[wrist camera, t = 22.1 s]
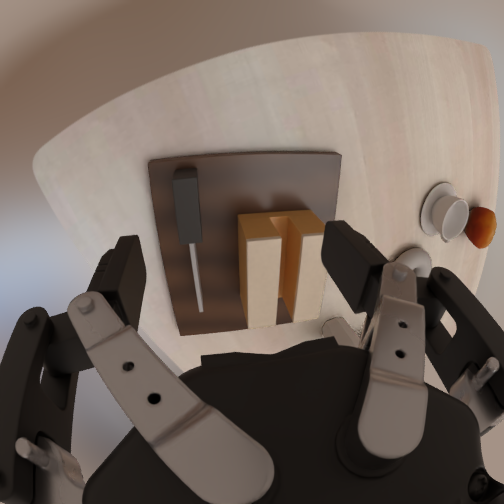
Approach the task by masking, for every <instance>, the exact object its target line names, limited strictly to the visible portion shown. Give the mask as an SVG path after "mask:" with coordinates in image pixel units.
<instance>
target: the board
mask: <svg viewBox="0 0 504 504" xmlns="http://www.w3.org/2000/svg"><path fill="white" fill-rule="evenodd" d="M341 158H342V155H341V154H339V153H336V152H313V151H262V152H235V153H218V154H204V155H192V156H182V157H173V158H164V159H156V160H150V161H149V162H148V169H149V177H150V185H151V193H152V200H153V207H154V213H155V220H156V226H157V231H158V237H159V243H160V248H161V253H162V259H163V264H164V268H165V273H166V278H167V283H168V287H169V292H170V296H171V300H172V304H173V309H174V313H175V317H176V321H177V325H178V328H179V332H180V336H186V335H198V334H208V333H218V332H227V331H235V330H243V329H248V326H247V322H246V318H245V314H244V310H243V305H242V301H241V297H240V278H239V247H238V214H252V213H266V212H281V211H297V210H312V212H313V213H314V214H315V215H316V216H317V217H318V218H319V219H320V220H321V221H322V222H323V223H324V224H325V225H326V222H327V221H334V220H335V212H336V204H337V196H338V188H339V178H340V168H341ZM188 168H197V174H198V188H199V201H200V212H201V223H202V240H203V242H202V243H196V252H197V260H198V267H199V275H200V282H201V289H202V298H203V312H199V306H198V300H197V294H196V288H195V281H194V275H193V268H192V261H191V254H190V246H189V244H184V245H180V243H179V236H178V229H177V221H176V214H175V206H174V197H173V189H172V178H173V175H174V172H175V170H179V169H188ZM291 322H293V321H292V319H291V317H290V314H289V312H288V309H287V307H286V305H285V302H284V300H283V297H279V298H278V303H277V316H276V325H279V324H285V323H291Z"/></svg>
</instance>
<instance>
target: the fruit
mask: <svg viewBox="0 0 504 504" xmlns="http://www.w3.org/2000/svg"><path fill="white" fill-rule="evenodd" d="M496 225H497V224H496V218H495V214H494V212H493V211H491V210H489V209H487V208H483V207H475V208H473V209H472V210H471V211H470V212H469V216H468V220H467V223H466V225H465V227H464V229H463V230H465V233H466V235H467V237H468V238H469V240H470V241H471V242H472V243H473V244H474V245H475V246H476V247H477V248H479V249H480V248H485V247H487V246H488V245H489V244H490V243H491V241H492V239H493V236H494V234H495V230H496Z"/></svg>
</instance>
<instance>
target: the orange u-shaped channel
mask: <svg viewBox="0 0 504 504" xmlns="http://www.w3.org/2000/svg"><path fill="white" fill-rule="evenodd" d="M324 229H325V224H324V223H323V222H322V221H321V220H320V219H319V218H318V217H317V216H316V215H315V214H314V213H313V212H312V210H297V211H281V212H266V213H252V214H238V247H239V278H240V297H241V301H242V305H243V310H244V314H245V318H246V322H247V326H248V329H256V328H263V327H270V326H276V316H277V303H278V298H279V297H283V300H284V302H285V305H286V307H287V309H288V312H289V314H290V317H291V319H292V321H293V323H296V322H301V321H307V320H313V319H318V317H319V312H320V308H321V303H322V298H323V293H324V288H325V282H326V277H327V270H326V269H325V267H324V266H323V264H322V260H321V248H322V242H323V236H324Z"/></svg>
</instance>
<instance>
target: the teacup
mask: <svg viewBox="0 0 504 504" xmlns="http://www.w3.org/2000/svg"><path fill="white" fill-rule="evenodd" d="M468 216H469V207H468V204H467V202H466V201H465V200H463V199H461V198H458V197H457V193H456V190H455V188H454V187H453V186H452V185H451V184H449V183H441V184H439V185H437V186H436V187H435V188H434V189H433V190H432V191H431V192H430V194H429V195H428V197H427V198H426V200H425V203H424V205H423V209H422V213H421V225H422V228H423V231H424V232H425V233H426V234H428V235H430V236H434V235H438V234H440V235H441V238H442V240H443V241H444V242H445V243H448V242H450V240H453V239H455V238H456V237H458V236H459V235H460V233H461V232H462V231H463V229H464V227H465V225H466V223H467V220H468Z"/></svg>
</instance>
